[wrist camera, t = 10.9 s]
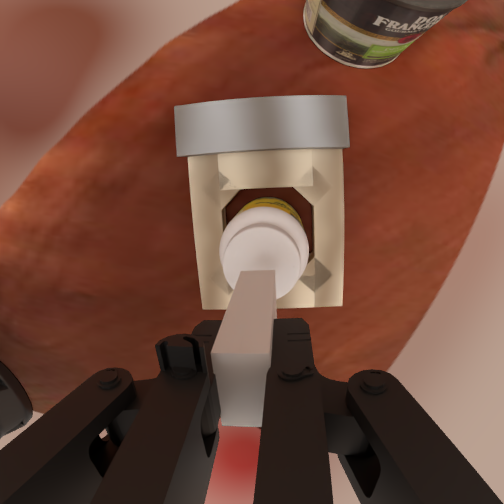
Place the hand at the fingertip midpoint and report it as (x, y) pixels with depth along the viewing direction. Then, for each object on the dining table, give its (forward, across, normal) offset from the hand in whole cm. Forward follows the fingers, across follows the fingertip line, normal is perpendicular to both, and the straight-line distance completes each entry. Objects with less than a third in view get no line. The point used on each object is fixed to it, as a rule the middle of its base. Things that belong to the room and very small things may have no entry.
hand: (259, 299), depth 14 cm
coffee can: (+16, +9, +20) cm, 27 cm away
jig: (+16, 0, +2) cm, 16 cm away
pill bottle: (+16, 0, 0) cm, 16 cm away
